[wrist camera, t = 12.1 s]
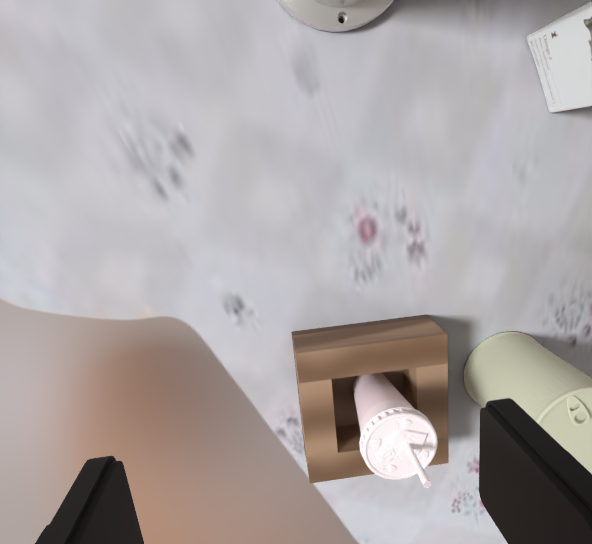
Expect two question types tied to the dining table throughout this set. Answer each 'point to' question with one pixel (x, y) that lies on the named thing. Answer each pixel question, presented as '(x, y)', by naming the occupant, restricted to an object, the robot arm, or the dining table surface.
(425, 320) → the socket block
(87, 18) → the dining table surface
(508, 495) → the robot arm
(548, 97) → the supplement box
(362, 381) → the smoothie
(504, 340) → the can
